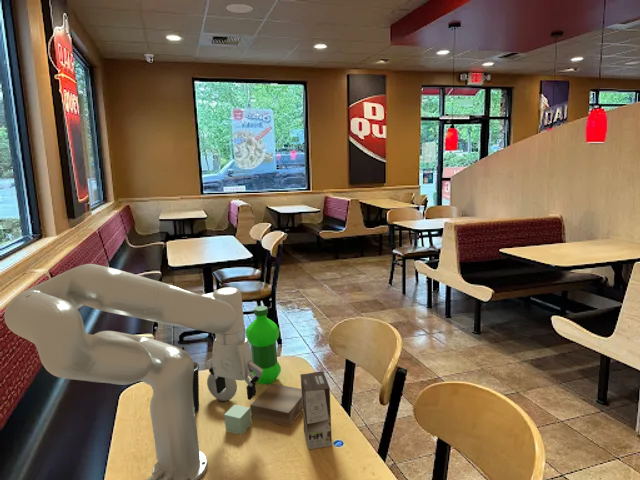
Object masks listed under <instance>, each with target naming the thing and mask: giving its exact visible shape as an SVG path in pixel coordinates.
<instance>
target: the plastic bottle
mask: <svg viewBox="0 0 640 480" xmlns="http://www.w3.org/2000/svg"><path fill="white" fill-rule="evenodd" d="M268 309H269V308H268V307H267V306H265V305H258V306H255V307H254V308H253V315H254V316H255V317H256V318H255V319H254V320H253V322H252V323H250V324H249V326H247V328H246V329H245V338H247V340H248V342H249V345H250V350H251V355H252V361H253V363H254V364H256V365H257V366H258V367H260V368H261V369H263V373H262V375H261V378H260V379H259V380H258V381H257V382H256V383H258V384H260V385H265V386H266V385H270V384H271V383H272V384H274V382H275V381H276V380H277V379H278V377H280V376H279V375H280V374H281V371H282V368H281V365H280V363H279V361H278V354H277V353H278V352H277V341H278V339H279V337H280V329H279V327H278V325H277V324H276V323H275V322H274V321H273V320H272V319H270V318H268V317H267V316H268V314H269V310H268ZM252 373H253V374H254V375H256V373H255V372H254V371H253V372H252Z"/></svg>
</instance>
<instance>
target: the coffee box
mask: <svg viewBox="0 0 640 480" xmlns="http://www.w3.org/2000/svg"><path fill="white" fill-rule="evenodd" d="M299 376H300V387H301V388H300V389H301V393H302V408H303V409H302V420H303V421H302V423H303V431H304V436H305V440H306V446H307V449H308V450H313V449H320V448H325V447H332V445H333V443H332V442H333V441H332V439H333V438H332V437H333V436H332V413H331V388H330V385H329V382H328V379H327V378H326V374H325V372H324V371H323V370H321V371H315V372H310V373H309V372H308V373H302V374H300V375H299Z"/></svg>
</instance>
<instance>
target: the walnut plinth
mask: <svg viewBox="0 0 640 480" xmlns="http://www.w3.org/2000/svg"><path fill="white" fill-rule="evenodd" d="M302 411H303V408H302V393H301V388H297V387H294V386H293V387H292V386H287V385H282V384H276V383H271V384H268V386H267V387H266V388H265V389H264V390H263V391H262V392H261V393H260V394H259V396H257V398H256V399H254V400H253V401H252V402H251V404H250V413H251V419H257V420H261V421H266V422H270V423H274V424H278V425H281V426H287V427H290V426H291V425H292V423H293V422H294V421H295V420H296V418H297V417H298V415H299V414H301V412H302Z"/></svg>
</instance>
